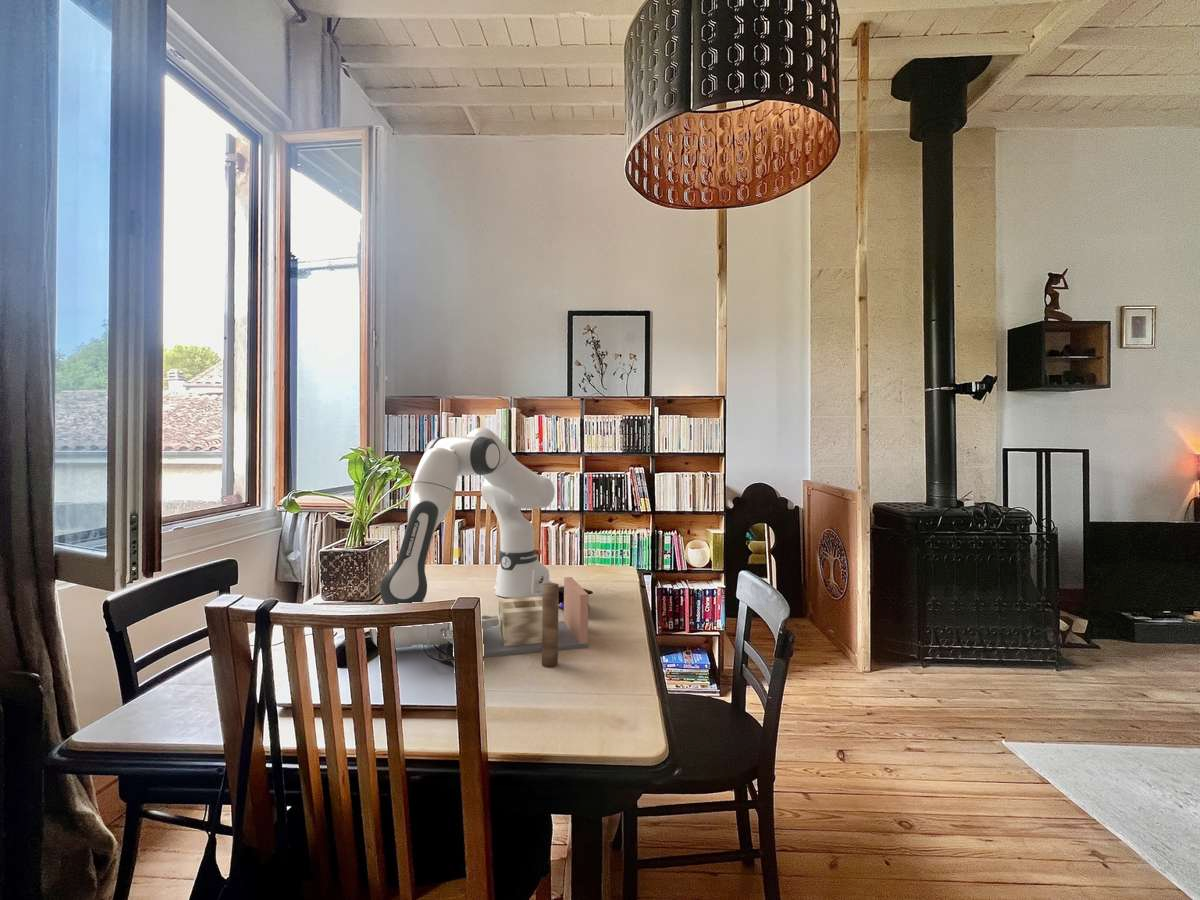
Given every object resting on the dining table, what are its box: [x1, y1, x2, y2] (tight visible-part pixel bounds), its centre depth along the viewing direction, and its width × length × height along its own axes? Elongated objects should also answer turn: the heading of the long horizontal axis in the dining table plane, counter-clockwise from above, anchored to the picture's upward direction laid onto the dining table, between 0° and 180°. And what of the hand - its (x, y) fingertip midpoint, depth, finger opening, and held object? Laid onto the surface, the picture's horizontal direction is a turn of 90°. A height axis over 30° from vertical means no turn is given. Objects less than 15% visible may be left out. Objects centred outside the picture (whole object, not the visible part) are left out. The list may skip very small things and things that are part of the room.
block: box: [498, 595, 543, 646], centre depth 143 cm, size 12×12×8 cm
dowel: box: [541, 582, 560, 669], centre depth 128 cm, size 4×4×18 cm
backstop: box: [483, 576, 589, 658], centre depth 143 cm, size 27×18×13 cm, turn 106°
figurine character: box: [558, 586, 594, 613], centre depth 168 cm, size 7×8×15 cm
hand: (498, 620), depth 142 cm, fingers closed
